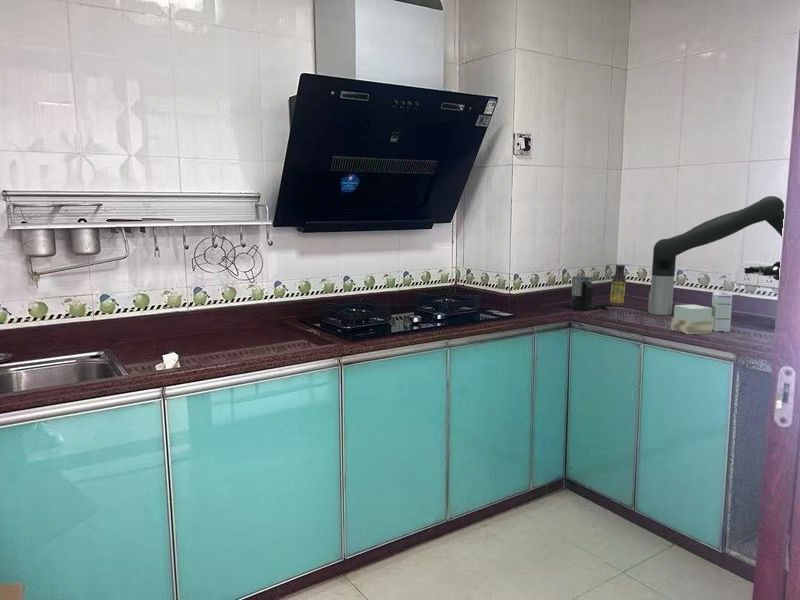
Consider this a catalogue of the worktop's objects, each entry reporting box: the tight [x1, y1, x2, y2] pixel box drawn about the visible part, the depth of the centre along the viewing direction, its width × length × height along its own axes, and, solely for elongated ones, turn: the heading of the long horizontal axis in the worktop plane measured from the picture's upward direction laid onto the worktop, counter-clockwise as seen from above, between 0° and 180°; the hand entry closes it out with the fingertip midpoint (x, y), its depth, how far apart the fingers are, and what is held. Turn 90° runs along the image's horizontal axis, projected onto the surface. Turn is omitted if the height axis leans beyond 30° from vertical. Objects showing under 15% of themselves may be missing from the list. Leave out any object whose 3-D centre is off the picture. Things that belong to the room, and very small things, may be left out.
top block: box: [673, 304, 712, 322], centre depth 226 cm, size 9×9×5 cm
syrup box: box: [711, 291, 733, 333], centre depth 229 cm, size 6×6×14 cm
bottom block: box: [670, 317, 713, 335], centre depth 227 cm, size 10×10×5 cm
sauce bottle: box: [609, 264, 627, 307], centre depth 287 cm, size 7×6×20 cm
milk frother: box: [570, 275, 611, 310], centre depth 279 cm, size 14×16×15 cm
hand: (754, 271), depth 230 cm, fingers open, 8 cm apart
